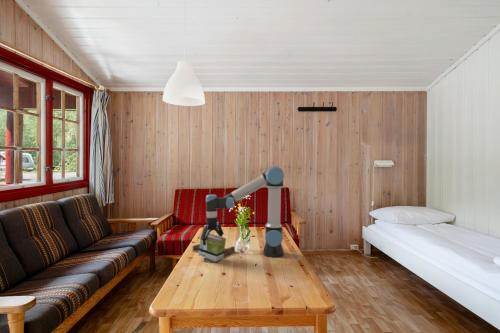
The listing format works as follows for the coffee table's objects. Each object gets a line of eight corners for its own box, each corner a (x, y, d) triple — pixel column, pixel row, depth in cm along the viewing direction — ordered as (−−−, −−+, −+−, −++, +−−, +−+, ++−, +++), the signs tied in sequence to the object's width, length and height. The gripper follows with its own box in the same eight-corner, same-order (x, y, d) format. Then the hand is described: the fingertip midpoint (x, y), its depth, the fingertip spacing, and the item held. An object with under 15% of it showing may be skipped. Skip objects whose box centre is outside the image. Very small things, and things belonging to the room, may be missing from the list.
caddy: (209, 245, 252) (209, 241, 252) (234, 251, 235) (234, 246, 235) (192, 251, 238) (192, 245, 238) (217, 257, 221) (217, 252, 221)
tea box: (197, 255, 215) (200, 234, 215) (205, 252, 224) (208, 232, 224) (215, 261, 209) (219, 240, 208) (223, 258, 218) (226, 237, 217)
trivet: (212, 255, 226) (212, 254, 226) (224, 259, 218) (224, 257, 218) (200, 260, 216) (200, 259, 216) (212, 263, 209) (212, 262, 209)
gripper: (220, 213, 229) (221, 242, 229) (194, 219, 209) (195, 250, 210) (227, 214, 224) (228, 243, 224) (202, 220, 205) (203, 252, 205)
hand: (212, 247), depth 217 cm, fingers open, 13 cm apart
